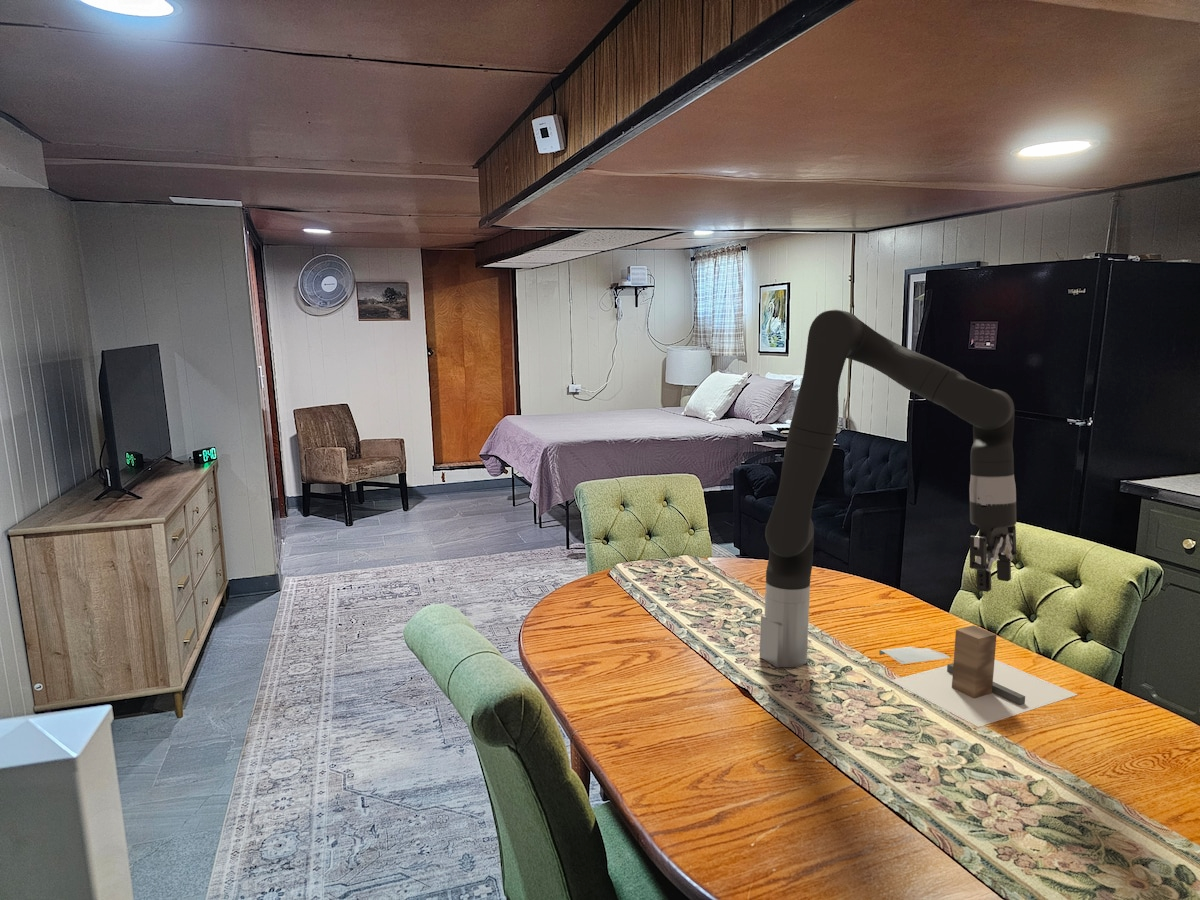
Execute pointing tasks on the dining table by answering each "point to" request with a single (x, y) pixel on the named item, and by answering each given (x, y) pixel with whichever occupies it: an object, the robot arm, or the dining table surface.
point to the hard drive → (913, 654)
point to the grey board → (1006, 699)
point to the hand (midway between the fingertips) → (994, 585)
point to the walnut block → (974, 661)
